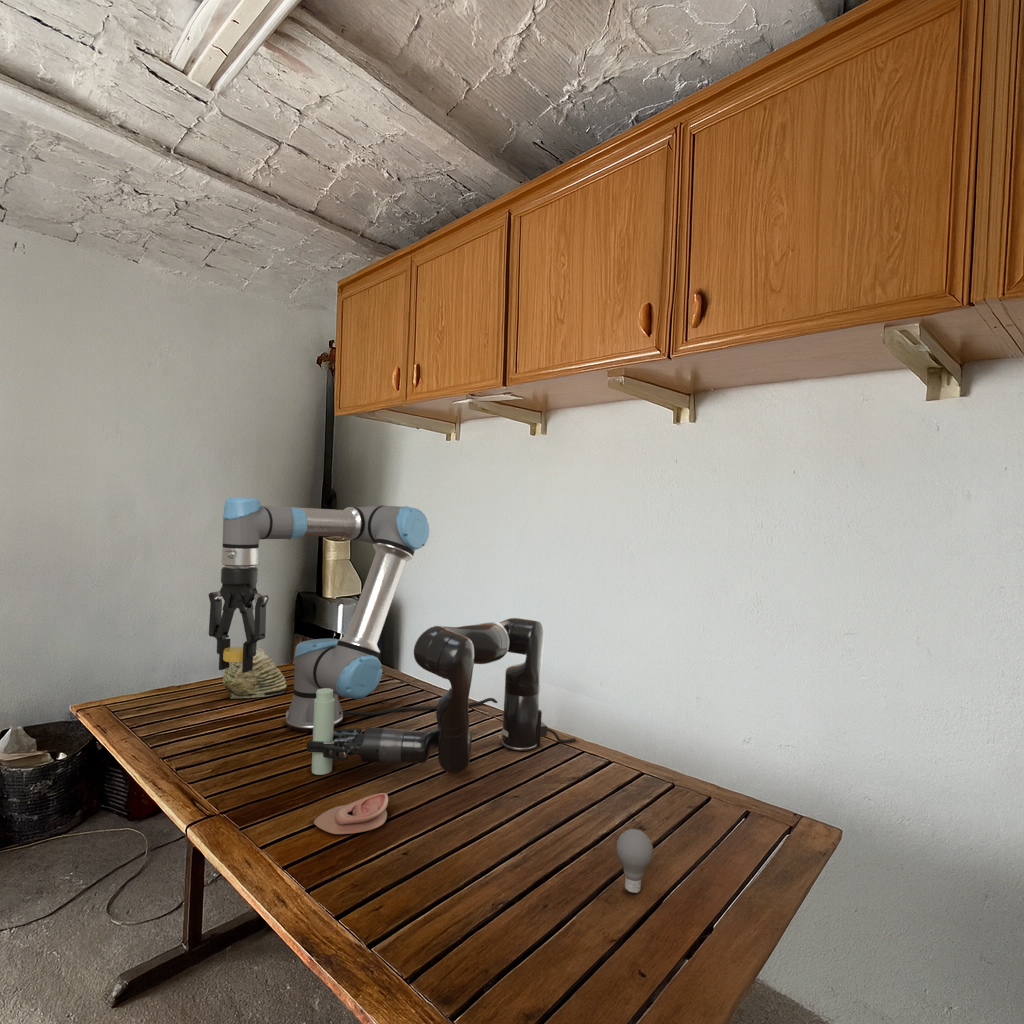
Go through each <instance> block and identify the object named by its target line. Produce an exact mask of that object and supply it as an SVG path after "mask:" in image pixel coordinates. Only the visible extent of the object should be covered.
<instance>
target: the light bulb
mask: <svg viewBox="0 0 1024 1024" xmlns="http://www.w3.org/2000/svg"><path fill="white" fill-rule="evenodd" d="M615 849H616V854H617V857H618V859H619V861H620V863H621V865H622V867H623V873H624V874H623V875H624V876H625V878H624V888H625V890H627V891H628V892H630V893H634V894H635V893H639V892H640V891H641V889H642V887H641V886H642V879H643V877H644V875H645V871H646V868H647V867H648V866H649V864H650V863H651V861H652V859H653V855H654V847H653V843H652V841H651V838H649V836H648V835H647V834H646V833H645V832H643V831H642V830H641V829H636V828H629V829H627V830H625V831H623V832H622V833H621V834H620V835H619V837H618V839H617V841H616V847H615Z"/></svg>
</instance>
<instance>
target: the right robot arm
mask: <svg viewBox="0 0 1024 1024" xmlns="http://www.w3.org/2000/svg"><path fill="white" fill-rule="evenodd" d="M544 644H545V627H544V624H543V622H542V621H540V620H536V619H528V618H521V617H509V618H507V619H504V620H501V621H499V622H482V623H477V624H469V625H463V626H445V625H444V626H443V625H434V626H431V627H429V628H427V629H425V631H423V632H422V633H421V634H420V635H419V637H418V638H417V640H416V641H415V643H414V647H413V657H414V660H415V661H414V662H416V664H417V665H418V666H419V667H420V668H422V669H423V670H424V671H427V672H429V673H431V674H433V675H434V676H437V677H439V678H442V679H444V680H448V681H449V683H450V688H449V689H448V690H447V691H446V692H444V694H443V695H441V697H440V698H439V700H438V702H437V705H436V706H437V709H435V712H436V713H435V714H436V723H437V727H435V728H431V729H426V730H407V729H406V730H405V729H399V728H388V727H369V726H368V727H366V728H365V729H364V731H363V728H361V727H356V728H355V727H354V728H337V729H336V730H335V731H333V741H328V742H324V741H313V740H308V741H307V742H306V751H307V752H309V753H312V752H323V757H324V758H330V759H332V760H336V761H342V762H346V761H348V760H349V759H348V758H349V757H350V756H356V755H357V756H360V759H361V761H362V762H363V763H375V764H376V763H378V764H425V763H426V762H428V760H429V759H430V756H431V754H432V752H433V751H435V750H437V755H438V756H437V758H438V759H437V760H438V763H439V766H440V767H441V769H442V770H443V771H444V772H446V773H448V774H449V775H450V774H452V775H458V774H461V773H463V772H464V771H465V770H466V769H467V768H468V766H469V765H470V760H471V751H472V741H473V736H472V735H473V734H472V732H471V731H470V715H469V714H470V713H469V707H468V703H469V699H470V693H471V687H472V680H473V672H474V665H486V664H492V663H495V662H497V661H500V660H501V659H503V658H504V657H505V656H506V655H507V653H510V654H516V655H522V656H525V661H524V662H521V663H517V664H513V665H510V666H507V668H505V675H504V697H503V719H502V720H503V721H502V723H503V724H502V728H501V734H502V735H501V736H502V739H501V745H502V747H504V748H506V749H507V750H510V751H515V752H528V751H532V750H535V749H536V748H539V747H541V739H542V738H543V737H547V736H548V732H549V733H551V734H552V735H554V737H555V738H556V740H557V741H558V742H560V743H563V744H564V743H566V744H567V743H572V742H575V741H577V740H576V738H575V737H573V738H568V739H562V738H560V736H559V735H558V733H557V732H556V731H554V730H553V729H551V728H548V725H546V724H545V723H544V722H543V721H542V718H543V717H542V714H543V712H542V710H541V708H540V692H541V691H540V690H541V674H542V667H543V654H544ZM332 745H333V746H332Z"/></svg>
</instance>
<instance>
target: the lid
mask: <svg viewBox="0 0 1024 1024" xmlns="http://www.w3.org/2000/svg"><path fill="white" fill-rule="evenodd" d="M223 660H224V661H226V662H242V661H243V646H230V647H229V648H225V649H224V652H223Z"/></svg>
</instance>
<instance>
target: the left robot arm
mask: <svg viewBox="0 0 1024 1024" xmlns="http://www.w3.org/2000/svg"><path fill="white" fill-rule="evenodd" d="M222 513H223V514H222V547H221V565H222V566H223V567H221V569H220V583H221V588H220V589H219V590H218V591H213V592H209V593H208V599H209V604H210V605H209V606H210V607H209V620H208V621H209V622H208V623H209V624H208V636H209V637H211V638H212V637H213V638H215V639H216V654H217V655H219V656H218V657H219V658H218V670H219V671H223V670H224V671H225V669H226V668H229V663H230V662H226V661H224V660H223V652H224V649H225V648H229V647H231V638H229V637H230V635H229V632H230V628H231V626H232V621H233V618H234V615H235V611H236V610H237V609H238V610H239V613H240V614H241V619H242V623H243V629H244V634H245V639H246V641H244V642H243V644H242V647H243V664H242V672H243V673H246V672H248V671H251V670H252V668H253V657H254V656H255V655H256V649H257V646H258V645H257V644H258V641H262V640H264V639H266V633H267V632H266V624H267V605H268V602H269V598H270V597H269V595H268V594H266V595H263V594H260V593H259V592H258V590H257V584H258V577H259V576H258V573H259V569H258V567H256V566H258V564H259V550H260V549H259V547H260V546H259V544H260V540H289V541H290V540H293V539H301V538H302V537H341V538H343V539H345V540H346V541H359V542H364V543H368V544H372V546H373V548H374V549H373V550H374V551H375V555H374V557H373V560H372V563H371V566H370V569H369V571H368V574H367V576H366V579H365V581H364V585H363V588H362V591H361V593H360V595H359V599H358V601H357V605H356V606H355V607H356V608H355V609H354V612H353V616H352V618H351V621H350V624H349V627H348V630H347V632H346V634H345V635H344V636H342V637H340V638H339V639H337V638H331V637H329V638H317V639H316V638H315V639H308V640H304V641H300V642H299V643H298V644H297V645H296V646H295V650H294V651H295V652H294V655H293V658H294V672H293V673H294V674H293V695H292V696H293V697H292V699H291V702H290V704H289V708H288V709H287V710H286V712H285V726H286V728H287V729H289V730H291V731H294V732H295V731H296V732H301V733H313V719H314V699H315V698H316V692H317V690H318V689H322V688H329V689H332V690H333V698H334V699H335V704H334V729H335V728H337V727H339V726H340V725H342V723H343V722H344V716H364V717H372V716H374V717H375V716H380V715H386V714H389V713H394V712H403V711H429V710H431V711H432V710H437V705H430V706H429V705H427V706H402V707H392V708H388V709H383V710H379V711H371V712H370V711H343V709H342V706H341V702H340V699H339V696H340V697H342V698H345V699H352V700H360V699H365V698H366V697H367V696H369V695H371V694H372V693H373V692H374V691H375V690H376V688H377V687H378V685H379V684H380V681H381V680H382V676H383V668H382V663H381V661H380V659H379V657H380V655H381V650H380V648H379V647H378V642H379V640H380V637H381V634H382V631H383V628H384V625H385V622H386V619H387V616H388V615H389V614H388V613H389V611H390V608H391V605H392V603H393V599H394V596H395V594H396V591H397V587H398V585H399V582H400V579H401V576H402V573H403V570H404V568H405V564H406V563H407V562H408V561H410V560H413V558H414V555H415V552H416V551H417V550H419V549H421V548H423V547H425V545H426V544H427V542H428V540H429V538H430V523H429V522H428V517H426V514H425V513H424V512H423V511H422V510H421V509H418V508H416V507H410V506H406V505H404V506H400V505H399V506H397V505H381V504H380V505H367V506H348V507H345V508H344V509H330V508H313V507H311V508H310V507H291V506H273V505H262V503H261V500H260V499H259V498H258V497H257V498H256V497H234V496H233V497H232V496H229V497H227V498H226V499H225V501H224V506H223V512H222ZM223 601H224V602H223ZM253 602H254V603H253ZM254 604H255V605H254ZM476 702H478V703H476ZM488 702H493V703H494V704H498V700H496V698H493V697H488V698H484V699H482V700H479V701H474V702H468V708H469V707H474V706H480V705H483V704H486V703H488Z"/></svg>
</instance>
